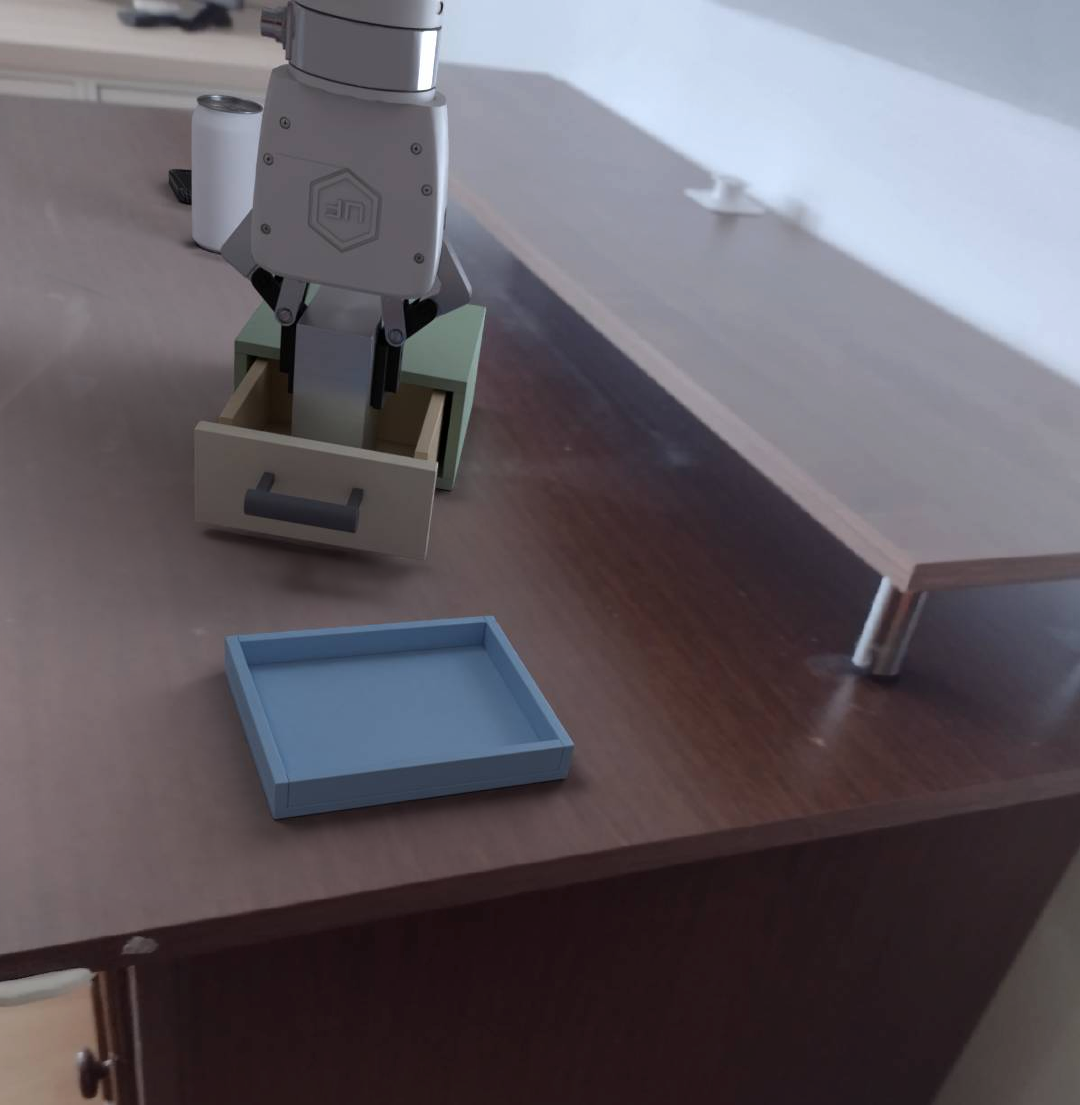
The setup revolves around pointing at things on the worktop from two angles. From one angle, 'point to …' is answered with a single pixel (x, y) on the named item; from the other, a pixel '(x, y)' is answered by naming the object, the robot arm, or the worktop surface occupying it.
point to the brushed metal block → (337, 368)
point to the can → (223, 166)
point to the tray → (390, 714)
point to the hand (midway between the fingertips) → (339, 390)
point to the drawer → (320, 470)
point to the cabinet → (428, 360)
